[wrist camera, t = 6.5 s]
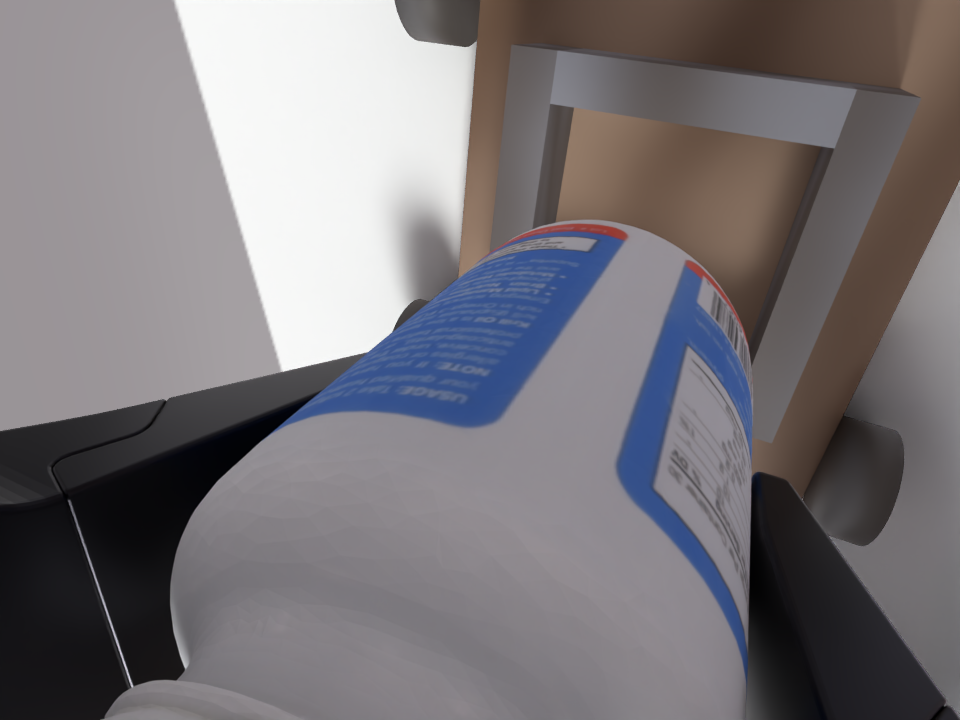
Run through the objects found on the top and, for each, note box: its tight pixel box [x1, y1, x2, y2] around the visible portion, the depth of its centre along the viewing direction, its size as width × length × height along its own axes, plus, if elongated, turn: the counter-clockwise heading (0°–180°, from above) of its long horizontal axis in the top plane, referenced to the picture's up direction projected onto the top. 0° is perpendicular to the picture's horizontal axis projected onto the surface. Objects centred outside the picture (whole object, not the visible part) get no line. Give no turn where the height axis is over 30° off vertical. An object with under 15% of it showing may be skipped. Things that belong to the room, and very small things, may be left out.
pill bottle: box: [101, 220, 753, 720], centre depth 7 cm, size 6×5×10 cm
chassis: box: [393, 0, 960, 546], centre depth 17 cm, size 16×18×4 cm
